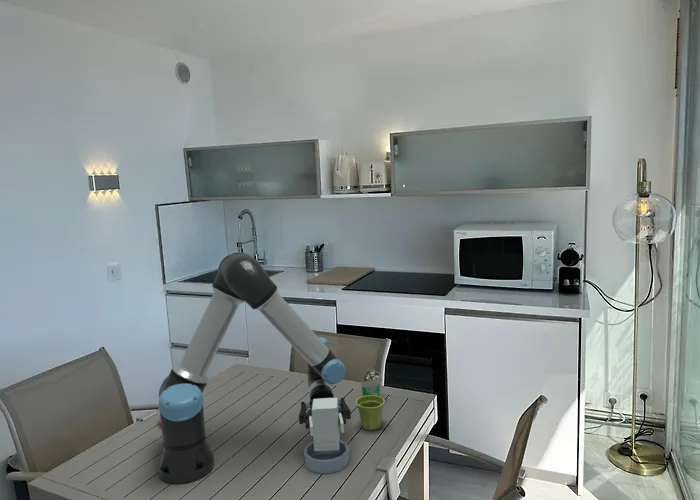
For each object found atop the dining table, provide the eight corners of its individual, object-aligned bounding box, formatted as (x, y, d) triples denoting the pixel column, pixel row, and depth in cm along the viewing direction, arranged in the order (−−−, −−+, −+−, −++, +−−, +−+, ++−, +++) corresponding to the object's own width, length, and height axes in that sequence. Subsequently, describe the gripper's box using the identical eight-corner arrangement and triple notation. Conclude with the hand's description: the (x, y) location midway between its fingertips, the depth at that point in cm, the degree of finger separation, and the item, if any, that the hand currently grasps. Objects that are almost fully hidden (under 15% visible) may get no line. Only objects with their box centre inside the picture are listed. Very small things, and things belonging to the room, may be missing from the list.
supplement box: (339, 450, 144) (337, 408, 142) (313, 451, 144) (310, 409, 142) (340, 437, 151) (338, 396, 150) (315, 438, 151) (312, 398, 150)
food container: (379, 409, 179) (378, 382, 178) (362, 408, 181) (361, 381, 179) (384, 394, 191) (383, 369, 190) (368, 394, 193) (367, 368, 191)
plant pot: (376, 435, 161) (375, 409, 160) (351, 429, 166) (350, 404, 165) (390, 423, 169) (389, 398, 168) (366, 417, 174) (364, 393, 173)
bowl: (305, 476, 141) (304, 463, 141) (304, 451, 154) (303, 440, 153) (351, 470, 143) (351, 458, 142) (346, 447, 155) (345, 436, 155)
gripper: (354, 403, 166) (364, 438, 144) (289, 410, 164) (290, 446, 141) (352, 381, 165) (363, 413, 143) (288, 387, 163) (288, 421, 140)
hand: (327, 429), depth 142 cm, fingers closed on supplement box, 8 cm apart
